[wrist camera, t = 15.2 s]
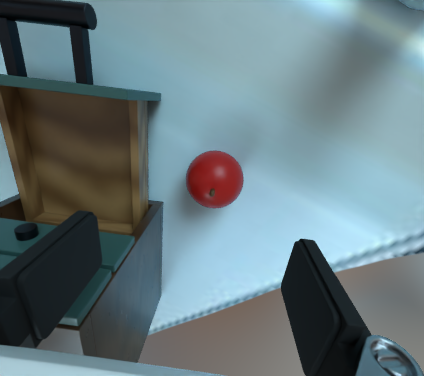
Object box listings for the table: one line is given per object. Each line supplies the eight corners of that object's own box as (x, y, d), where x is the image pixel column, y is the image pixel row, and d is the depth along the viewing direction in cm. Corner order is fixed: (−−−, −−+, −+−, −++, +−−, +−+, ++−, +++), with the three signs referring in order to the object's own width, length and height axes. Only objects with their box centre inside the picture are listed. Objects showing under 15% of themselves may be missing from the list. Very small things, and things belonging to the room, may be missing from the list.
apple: (180, 172, 25) (164, 196, 18) (214, 134, 23) (208, 146, 16) (217, 203, 26) (214, 236, 19) (252, 169, 24) (261, 194, 18)
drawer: (0, 12, 20) (-129, -38, 13) (162, 30, 19) (123, -12, 12) (43, 208, 28) (-21, 245, 20) (159, 224, 27) (134, 267, 20)
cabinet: (35, 173, 26) (-218, 267, 11) (163, 190, 26) (74, 311, 11) (59, 280, 33) (-81, 427, 18) (161, 295, 32) (104, 458, 18)
